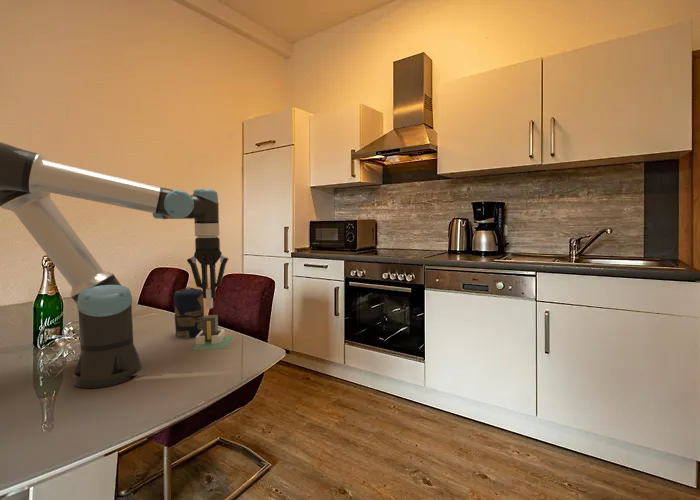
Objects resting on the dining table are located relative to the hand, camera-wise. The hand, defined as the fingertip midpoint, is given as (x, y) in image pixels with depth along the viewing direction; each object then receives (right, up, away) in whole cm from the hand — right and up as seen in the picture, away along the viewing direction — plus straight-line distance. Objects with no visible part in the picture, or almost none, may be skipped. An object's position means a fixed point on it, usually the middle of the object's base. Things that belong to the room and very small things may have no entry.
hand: (209, 307), depth 122 cm
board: (+2, -12, -1) cm, 13 cm away
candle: (-10, -12, +8) cm, 18 cm away
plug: (0, -11, +1) cm, 11 cm away
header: (0, -11, +1) cm, 11 cm away
